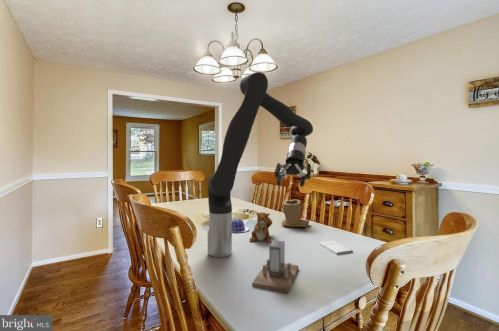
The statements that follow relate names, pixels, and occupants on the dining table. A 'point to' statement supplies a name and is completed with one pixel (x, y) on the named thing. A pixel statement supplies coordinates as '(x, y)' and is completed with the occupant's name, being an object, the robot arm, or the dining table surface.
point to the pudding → (238, 226)
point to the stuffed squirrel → (261, 228)
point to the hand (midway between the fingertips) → (290, 185)
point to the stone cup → (293, 214)
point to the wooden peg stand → (276, 283)
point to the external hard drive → (335, 247)
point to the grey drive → (276, 258)
